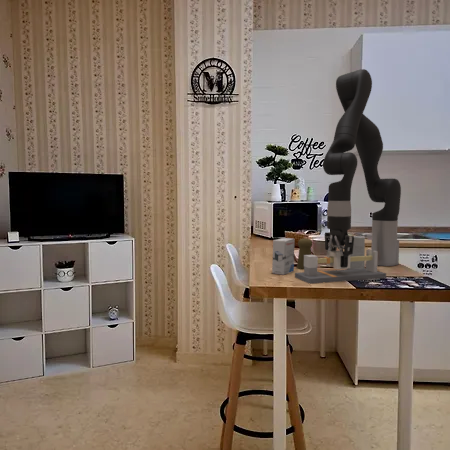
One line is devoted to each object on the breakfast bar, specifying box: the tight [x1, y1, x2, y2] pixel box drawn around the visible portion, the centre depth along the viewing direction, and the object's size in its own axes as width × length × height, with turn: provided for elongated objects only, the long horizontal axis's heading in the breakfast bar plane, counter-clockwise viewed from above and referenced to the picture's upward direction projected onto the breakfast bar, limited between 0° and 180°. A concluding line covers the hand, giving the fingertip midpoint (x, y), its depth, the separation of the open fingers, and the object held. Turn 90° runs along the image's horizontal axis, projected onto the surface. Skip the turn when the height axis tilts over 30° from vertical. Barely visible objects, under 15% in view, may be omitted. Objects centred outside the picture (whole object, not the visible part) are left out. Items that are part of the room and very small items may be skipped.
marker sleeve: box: [326, 249, 350, 270], centre depth 136 cm, size 5×6×5 cm
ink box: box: [271, 237, 295, 276], centre depth 145 cm, size 9×5×12 cm, turn 148°
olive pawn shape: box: [296, 238, 313, 271], centre depth 153 cm, size 6×6×11 cm
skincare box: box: [346, 235, 366, 270], centre depth 151 cm, size 6×4×12 cm
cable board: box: [294, 249, 387, 284], centre depth 136 cm, size 28×10×8 cm, turn 107°
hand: (338, 265), depth 136 cm, fingers closed on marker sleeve, 6 cm apart
